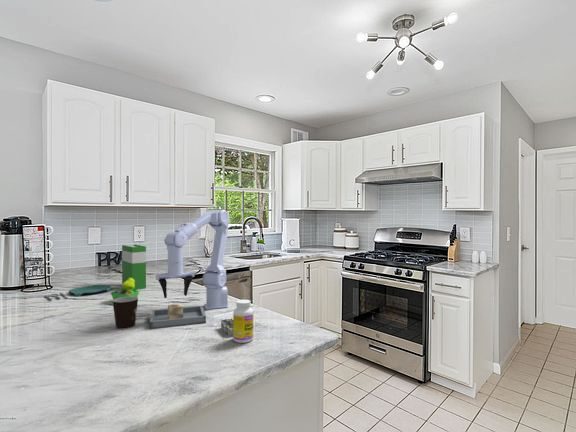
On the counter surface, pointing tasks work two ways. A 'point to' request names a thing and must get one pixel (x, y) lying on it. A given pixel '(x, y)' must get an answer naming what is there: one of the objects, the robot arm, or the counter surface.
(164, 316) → the tray
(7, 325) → the counter surface
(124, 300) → the coffee mug
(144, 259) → the green cereal box
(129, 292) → the fruit basket
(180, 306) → the wooden cube
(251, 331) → the supplement bottle
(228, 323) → the grey lumpy block
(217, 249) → the robot arm
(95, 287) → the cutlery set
